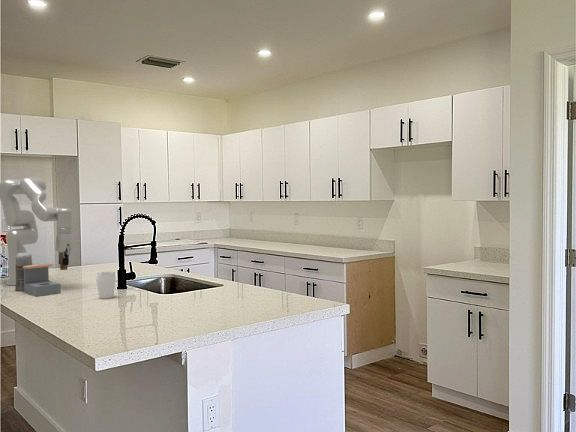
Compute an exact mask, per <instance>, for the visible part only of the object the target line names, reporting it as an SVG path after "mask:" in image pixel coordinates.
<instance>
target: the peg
mask: <svg viewBox="0 0 576 432" xmlns="http://www.w3.org/2000/svg"><path fill="white" fill-rule="evenodd" d="M65 252H67V251H65ZM65 254H66V253H65ZM62 258H63V253H62V252H60V264H59V267H60V268H59V270H60V271H65V270H68V265H62Z"/></svg>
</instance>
